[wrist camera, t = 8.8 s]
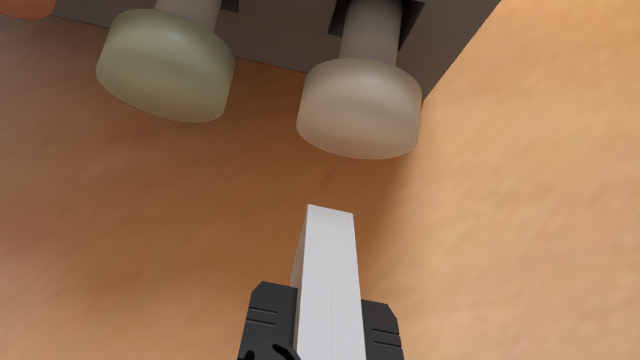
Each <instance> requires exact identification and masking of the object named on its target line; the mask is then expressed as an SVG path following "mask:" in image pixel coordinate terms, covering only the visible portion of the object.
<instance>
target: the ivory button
mask: <svg viewBox="0 0 640 360" xmlns="http://www.w3.org/2000/svg"><path fill="white" fill-rule="evenodd" d="M402 10H403V3H402V0H349V1H348V6H347V12H346V18H345V24H344V29H343V35H342V41H341V47H340V52H339V58H338V59H334V60H329V61H326V62H323V63H321V64H319V65H317V66H315V67H314V68H312V69H311V70H310V71H309V72H308V74H307V75H306V78H305V82H304V87H303V92H302V97H301V102H300V107H299V112H298V117H297V122H296V128H297V131H298V133H299V134H300V136H301V137H302V138H303V139H304V140H306V141H307V142H308V143H310V144H311V145H313V146H315V147H317V148H319V149H321V150H324V151H326V152H329V153H332V154H335V155H339V156H343V157H349V158H356V159H368V160H376V159H388V158H393V157H398V156H401V155H403V154H406V153H408V152H409V151H411V150H412V149H413V148H414V147H415V145H416V143H417V138H418V128H419V119H420V109H421V100H422V91H421V88H420V86H419V84H418V83H417V81H416V80H415V79H414V78H413V77H412V76H411V75H409V74H408V73H407V72H405V71H403V70H402V69H400V68H398V67H396V66H395V65H396V57H397V50H398V42H399V34H400V26H401V18H402Z"/></svg>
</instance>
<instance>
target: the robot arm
mask: <svg viewBox="0 0 640 360" xmlns="http://www.w3.org/2000/svg"><path fill="white" fill-rule="evenodd" d="M401 346H402V345H401V339H400V336H399V328H398V323H397V318H396V317H395V315H394V314H393V312H392V311H391V309H390V308H389V306H388V305H387V304H384V303H378V302H373V301H368V300H363V299H361V298H360V287H359V276H358V265H357V253H356V242H355V231H354V220H353V213H348V212H344V211H339V210H334V209H329V208H324V207H320V206H315V205H310V204H308V206H307V210H306V214H305V218H304V222H303V226H302V230H301V234H300V238H299V242H298V246H297V250H296V254H295V258H294V262H293V266H292V269H291V277H290V286H285V285H279V284H274V283H269V282H264V281H262V282H261V283H260V284H259V285H258V286H257V287H256V288H255V289H254V290H253V292H252V294H251V299H250V303H249V308H248V312H247V317H246V322H245V326H244V331H243V336H242V340H241V345H240V349H239V354H238V358H237V360H404V356H403V351H402V349H401Z"/></svg>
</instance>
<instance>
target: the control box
mask: <svg viewBox="0 0 640 360" xmlns="http://www.w3.org/2000/svg"><path fill="white" fill-rule="evenodd" d="M156 1H157V0H57V1H56V3H55V6H54V8H53V10H52V12H51V14H50V15H54V16H58V17H63V18H67V19H71V20H76V21H80V22H85V23H89V24H93V25H98V26H102V27H107V28H111V25H112V22H113V20H114V19H115V18H116V17H117V15H119V14H121V13H122V12H125V11H128V10H132V9H154V7H155V4H156ZM348 1H349V0H222V2H221V6H220V9H219V13H218V16H217V20H216V23H215V27H214V31H213V33H215V34H216V35H217V36H218V37H219V38H221V39H222V40H223V41H224V42H225V43H226V44H227V46H228V47H229V48H230V50H231V51H232V53H233V55H234V56H235V57H239V58H243V59H248V60H252V61H257V62H261V63H266V64H270V65H274V66H279V67H283V68H288V69H292V70H296V71H301V72H305V73H308V72H309V71H310V70H311V69H312V68H314V67H315V66H317V65H319V64H321V63H323V62H326V61H329V60H334V59H338V58H339V52H340V47H341V41H342V35H343V29H344V24H345V18H346V12H347V6H348ZM500 1H501V0H402V3H403V10H402V18H401V26H400V34H399V42H398V50H397V57H396V65H395V66H396V67H398V68H400V69H402V70H403V71H405V72H407V73H408V74H409V75H411V76H412V77H413V78H414V79H415V80H416V81H417V83H418V84H419V86H420V88H421V91H422V99H425V98H426V97H427V96H428V94H429V93H430V92H431V90H432V89H433V88H434V86H435V85H436V84H437V83H438V81H439V80H440V79H441V77H442V76H443V75H444V74H445V72H446V71H447V70H448V68H449V67H450V66H451V64H452V63H453V62H454V61H455V59H456V58H457V57H458V55H459V54H460V53H461V52H462V50H463V49H464V48H465V46H466V45H467V44H468V42H469V41H470V40H471V39H472V37H473V36H474V35H475V33H476V32H477V31H478V29H479V28H480V27H481V26H482V24H483V23H484V22H485V20H486V19H487V18H488V17H489V15H490V14H491V13H492V11H493V10H494V9H495V7H496V6H497V5H498V4H499V2H500Z"/></svg>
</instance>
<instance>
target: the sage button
mask: <svg viewBox="0 0 640 360" xmlns="http://www.w3.org/2000/svg"><path fill="white" fill-rule="evenodd" d="M221 2H222V0H157V1H156V4H155V7H154V9H132V10H128V11H125V12H122V13H121V14H119V15H117V17H116V18H115V19H114V20H113V22H112V25H111V28H110V30H109V33H108V36H107V39H106V41H105V44H104V47H103V50H102V52H101V55H100V58H99V61H98V63H97V66H96V70H95V72H96V76H97V79H98V80H99V82H100V83H101V85H102V86H103V87H104V88H105V89H106V90H107V91H108V92H109V93H111V94H112V95H113V96H115V97H116V98H118V99H119V100H121V101H123V102H124V103H126V104H128V105H130V106H132V107H134V108H136V109H138V110H141V111H143V112H146V113H148V114H151V115H154V116H157V117H161V118H165V119H169V120H174V121H180V122H189V123H201V122H209V121H212V120H215V119H217V118H219V117H220V116H221V115H222V114H223V112H224V109H225V105H226V101H227V97H228V93H229V90H230V86H231V82H232V78H233V74H234V70H235V64H236V63H235V58H234V55H233V53H232V51H231V50H230V48H229V47H228V46H227V44H226V43H225V42H224V41H223V40H222V39H221V38H219V37H218V36H217V35H216V34H215V33H213V31H214V27H215V23H216V20H217V16H218V13H219V9H220V6H221Z"/></svg>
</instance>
